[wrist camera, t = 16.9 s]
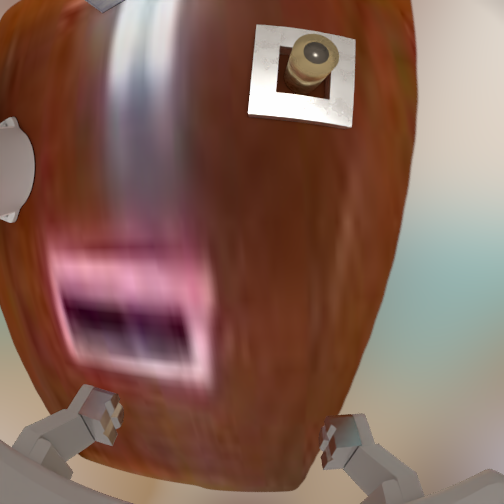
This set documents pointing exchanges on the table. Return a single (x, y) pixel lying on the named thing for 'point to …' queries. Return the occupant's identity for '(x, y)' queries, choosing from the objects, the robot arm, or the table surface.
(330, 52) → the brass bushing
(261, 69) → the aluminium jig
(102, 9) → the medicine box
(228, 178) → the table surface
